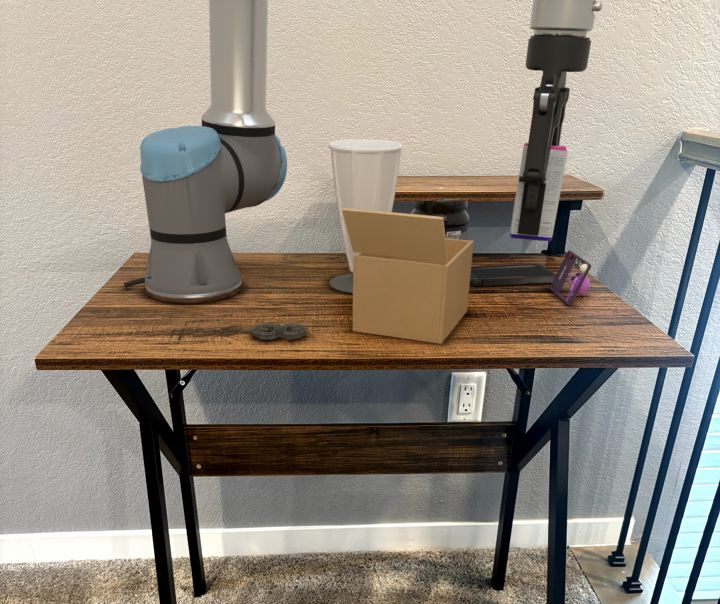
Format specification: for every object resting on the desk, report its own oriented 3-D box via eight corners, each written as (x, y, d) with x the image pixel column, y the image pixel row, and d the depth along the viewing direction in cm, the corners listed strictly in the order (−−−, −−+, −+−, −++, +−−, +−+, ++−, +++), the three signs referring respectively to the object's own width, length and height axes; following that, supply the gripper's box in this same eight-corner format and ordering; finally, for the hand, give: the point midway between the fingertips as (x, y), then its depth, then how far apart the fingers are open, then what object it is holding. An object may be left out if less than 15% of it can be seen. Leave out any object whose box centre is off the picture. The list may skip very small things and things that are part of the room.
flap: (447, 260, 93) (447, 262, 93) (354, 249, 97) (353, 252, 97) (443, 216, 87) (442, 219, 87) (342, 207, 91) (341, 209, 91)
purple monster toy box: (564, 248, 118) (585, 263, 111) (591, 258, 120) (614, 274, 112) (545, 287, 121) (564, 304, 114) (572, 296, 123) (592, 314, 115)
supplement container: (420, 254, 140) (424, 187, 134) (472, 261, 136) (479, 193, 130) (398, 267, 132) (401, 197, 125) (453, 275, 128) (459, 203, 122)
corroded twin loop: (306, 342, 98) (306, 335, 98) (247, 341, 98) (247, 334, 98) (309, 329, 103) (309, 322, 102) (252, 328, 103) (252, 321, 102)
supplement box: (553, 242, 99) (568, 150, 93) (509, 238, 100) (521, 147, 94) (552, 232, 104) (566, 144, 98) (510, 229, 105) (521, 142, 99)
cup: (343, 271, 129) (343, 137, 118) (405, 278, 126) (412, 141, 114) (318, 289, 119) (316, 145, 108) (385, 297, 116) (390, 150, 105)
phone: (460, 267, 128) (540, 263, 131) (459, 273, 128) (539, 269, 131) (474, 279, 121) (558, 275, 124) (474, 286, 122) (557, 282, 125)
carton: (441, 344, 99) (447, 266, 94) (352, 331, 103) (353, 255, 98) (467, 311, 111) (473, 240, 106) (386, 300, 115) (388, 232, 110)
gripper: (583, 34, 80) (549, 247, 92) (599, 35, 96) (568, 217, 108) (516, 32, 82) (491, 241, 95) (541, 33, 98) (517, 212, 110)
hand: (532, 228), depth 101 cm, fingers closed on supplement box, 6 cm apart
